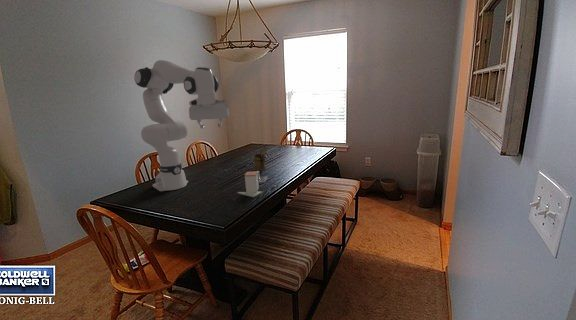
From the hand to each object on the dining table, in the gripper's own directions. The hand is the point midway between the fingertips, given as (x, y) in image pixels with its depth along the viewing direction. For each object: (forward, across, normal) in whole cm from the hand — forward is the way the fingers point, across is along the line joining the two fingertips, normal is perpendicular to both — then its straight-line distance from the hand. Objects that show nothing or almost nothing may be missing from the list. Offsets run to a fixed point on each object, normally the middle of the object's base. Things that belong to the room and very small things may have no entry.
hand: (211, 127), depth 146 cm
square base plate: (+37, -18, -20) cm, 46 cm away
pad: (+37, -18, -2) cm, 41 cm away
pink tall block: (+36, -18, -2) cm, 40 cm away
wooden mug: (+38, -16, -42) cm, 59 cm away
